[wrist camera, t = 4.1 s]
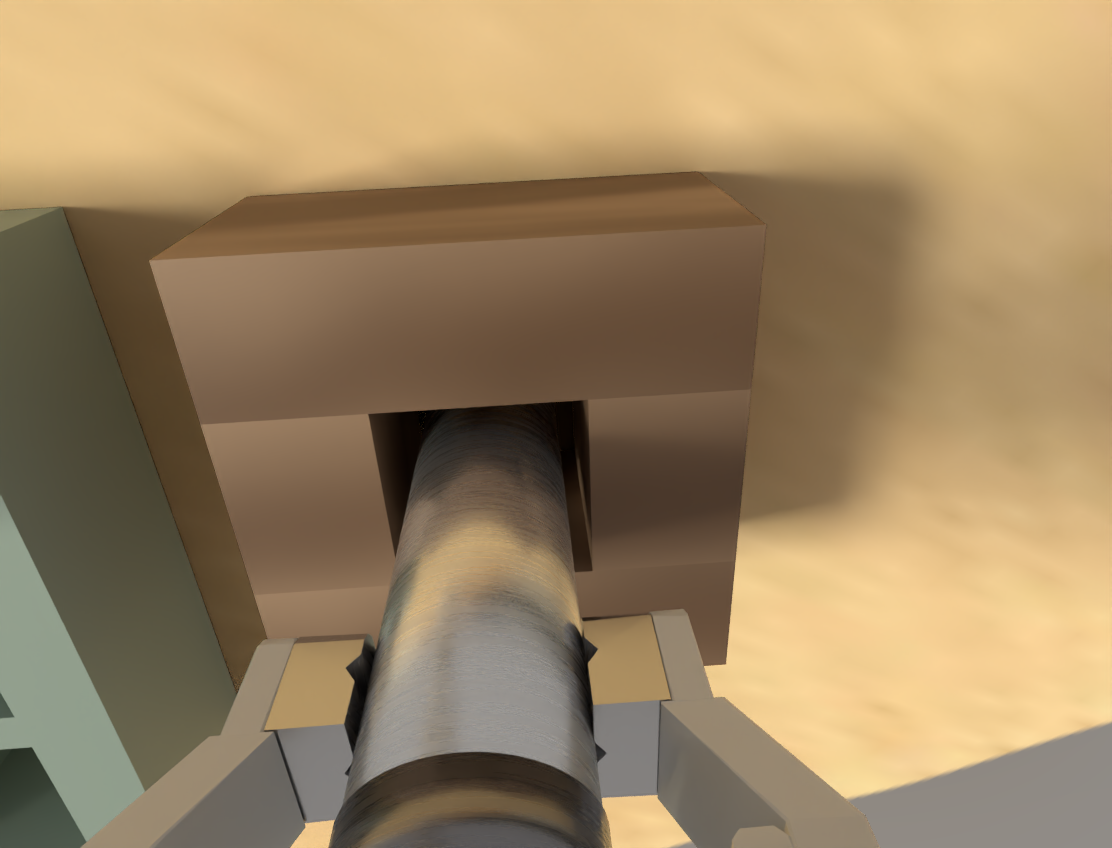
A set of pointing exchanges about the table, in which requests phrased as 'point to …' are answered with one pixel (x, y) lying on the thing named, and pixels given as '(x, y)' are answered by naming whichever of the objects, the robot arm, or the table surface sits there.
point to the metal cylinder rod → (479, 654)
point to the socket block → (475, 376)
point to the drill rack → (85, 566)
